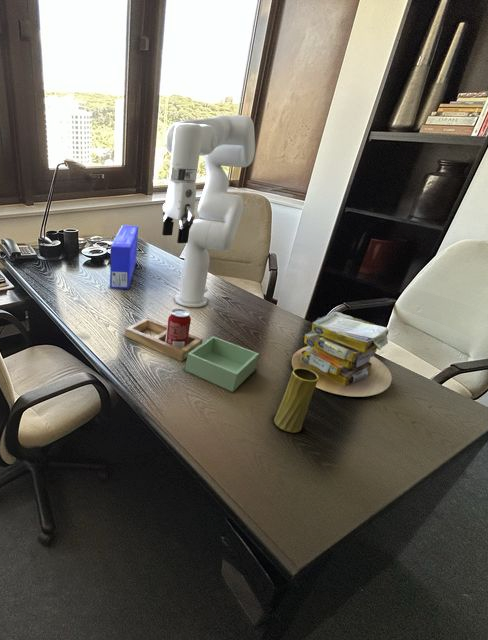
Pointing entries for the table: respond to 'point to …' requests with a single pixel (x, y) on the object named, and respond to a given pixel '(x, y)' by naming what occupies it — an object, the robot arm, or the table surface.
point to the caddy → (160, 339)
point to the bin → (221, 363)
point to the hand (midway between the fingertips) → (174, 238)
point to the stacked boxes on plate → (345, 356)
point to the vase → (296, 400)
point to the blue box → (123, 257)
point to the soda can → (178, 328)
